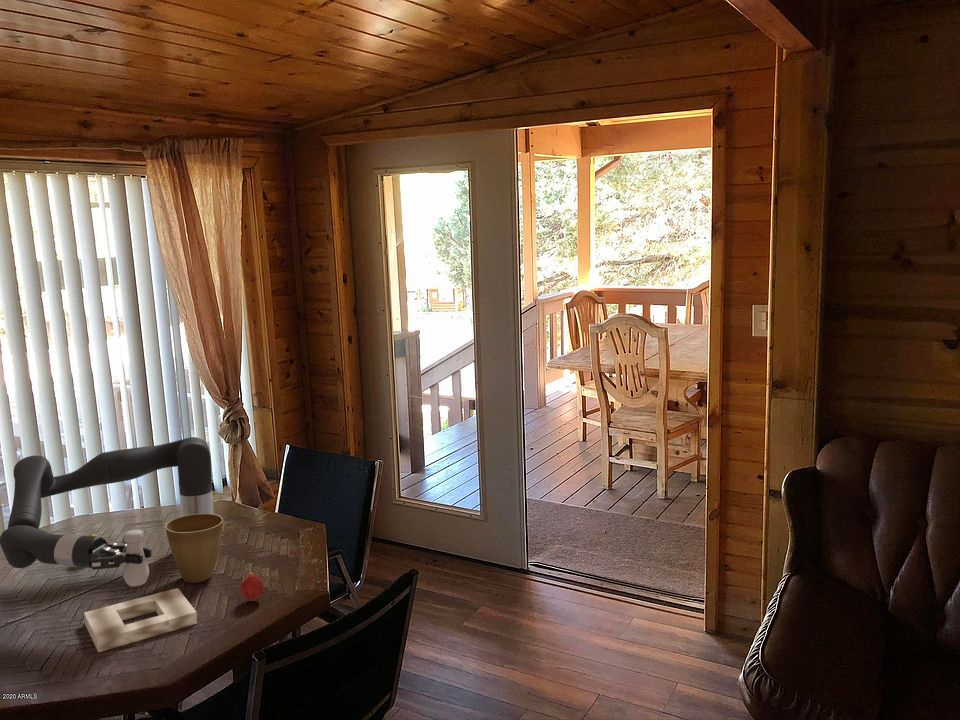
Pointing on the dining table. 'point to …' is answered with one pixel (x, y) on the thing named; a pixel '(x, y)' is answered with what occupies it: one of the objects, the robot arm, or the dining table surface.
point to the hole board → (114, 633)
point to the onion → (252, 587)
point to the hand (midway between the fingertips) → (146, 556)
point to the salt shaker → (135, 572)
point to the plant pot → (195, 544)
